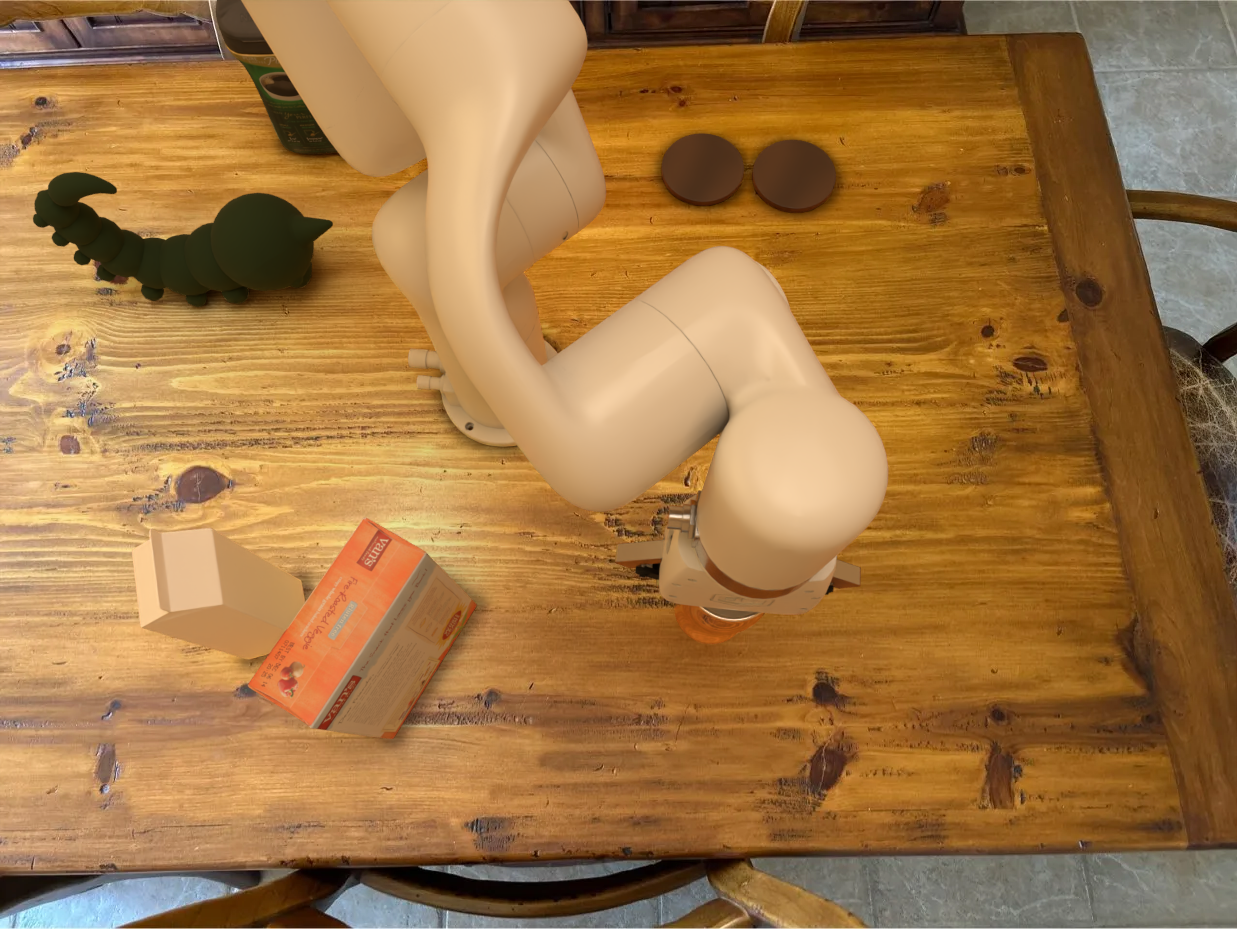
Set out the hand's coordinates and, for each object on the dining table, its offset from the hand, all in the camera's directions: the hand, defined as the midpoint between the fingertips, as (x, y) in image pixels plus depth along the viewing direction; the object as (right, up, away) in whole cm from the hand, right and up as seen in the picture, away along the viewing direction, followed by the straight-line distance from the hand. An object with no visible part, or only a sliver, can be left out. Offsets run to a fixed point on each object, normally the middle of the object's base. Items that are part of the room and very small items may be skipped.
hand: (724, 586), depth 65 cm
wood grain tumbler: (0, -3, +10) cm, 10 cm away
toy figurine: (-48, +28, +29) cm, 63 cm away
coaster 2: (+11, +40, +32) cm, 53 cm away
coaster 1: (+1, +41, +32) cm, 53 cm away
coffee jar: (-41, +47, +35) cm, 71 cm away
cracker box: (-27, -8, +16) cm, 32 cm away
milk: (-39, -5, +17) cm, 43 cm away
